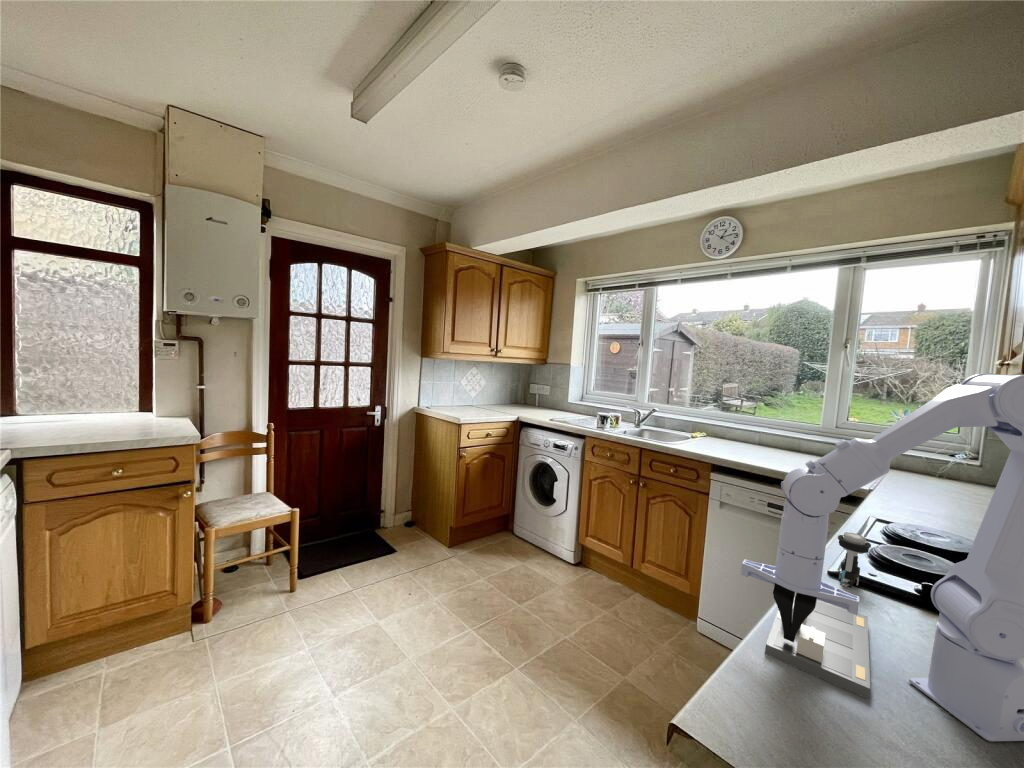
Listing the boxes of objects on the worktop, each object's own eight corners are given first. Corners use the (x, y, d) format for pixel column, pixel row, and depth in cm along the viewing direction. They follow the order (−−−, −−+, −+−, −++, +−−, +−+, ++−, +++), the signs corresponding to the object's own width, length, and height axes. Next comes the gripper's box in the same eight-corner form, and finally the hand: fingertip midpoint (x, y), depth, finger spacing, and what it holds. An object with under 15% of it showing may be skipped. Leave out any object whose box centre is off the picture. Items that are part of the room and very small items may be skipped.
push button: (859, 594, 83) (866, 545, 83) (827, 582, 87) (833, 535, 87) (867, 584, 88) (874, 538, 87) (836, 573, 92) (842, 528, 91)
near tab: (821, 662, 60) (824, 644, 60) (796, 652, 62) (798, 634, 62) (823, 649, 63) (825, 631, 63) (799, 639, 65) (801, 621, 65)
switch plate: (868, 699, 56) (870, 688, 56) (764, 653, 64) (765, 643, 64) (866, 625, 73) (867, 616, 73) (784, 595, 81) (785, 587, 81)
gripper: (863, 559, 62) (850, 648, 63) (751, 527, 71) (741, 605, 72) (863, 576, 56) (850, 673, 57) (742, 540, 65) (732, 624, 66)
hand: (789, 637), depth 64 cm, fingers closed
